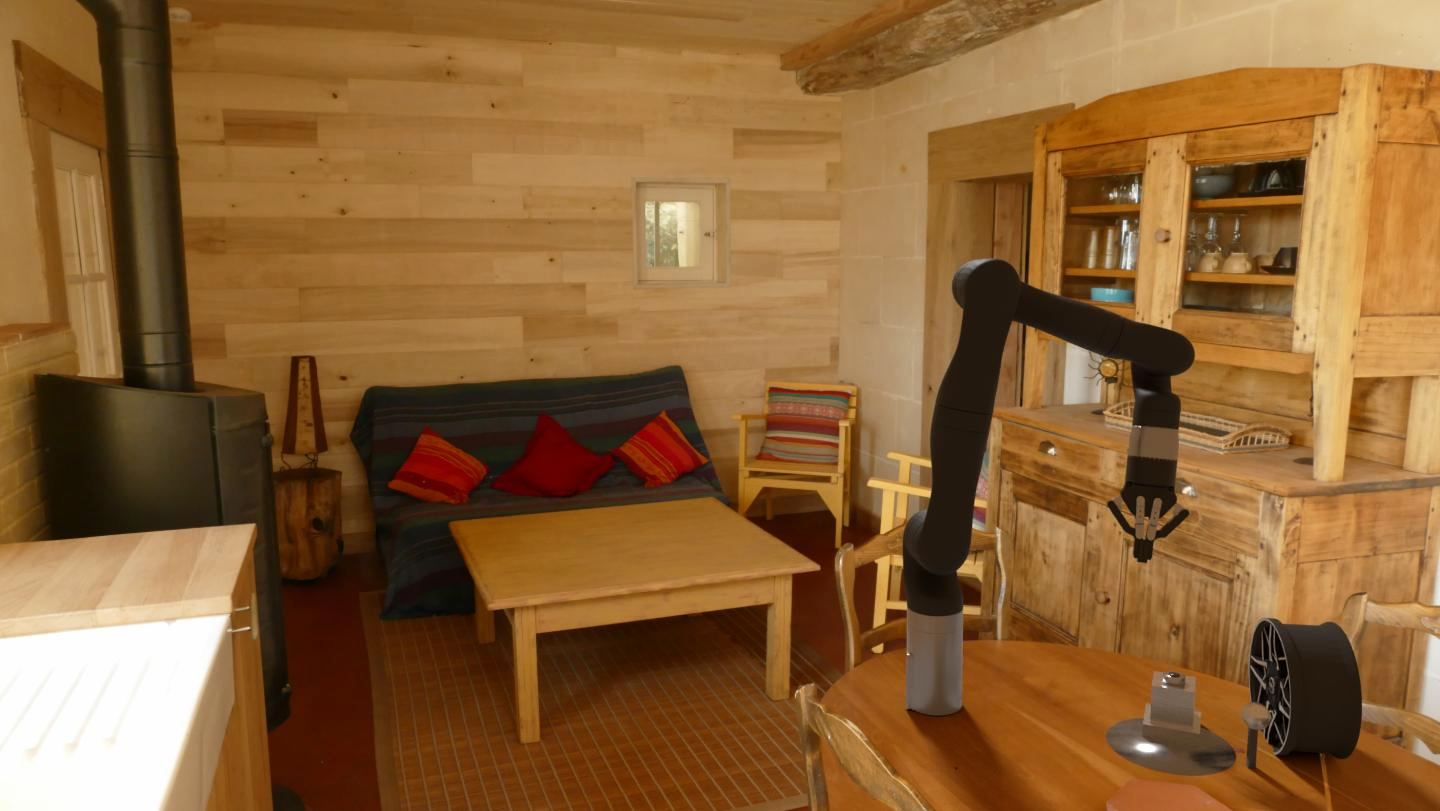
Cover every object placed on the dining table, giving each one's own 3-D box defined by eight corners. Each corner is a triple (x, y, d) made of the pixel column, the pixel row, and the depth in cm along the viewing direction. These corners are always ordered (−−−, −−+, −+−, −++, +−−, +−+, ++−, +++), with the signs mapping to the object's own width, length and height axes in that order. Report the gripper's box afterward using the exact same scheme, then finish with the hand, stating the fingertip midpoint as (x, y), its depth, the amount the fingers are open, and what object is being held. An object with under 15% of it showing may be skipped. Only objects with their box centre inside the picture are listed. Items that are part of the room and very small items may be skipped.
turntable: (1116, 772, 148) (1116, 769, 148) (1097, 716, 165) (1097, 713, 165) (1262, 784, 144) (1262, 780, 144) (1227, 725, 161) (1227, 722, 161)
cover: (1142, 736, 157) (1144, 679, 156) (1145, 714, 164) (1148, 660, 163) (1199, 746, 154) (1202, 688, 152) (1200, 723, 161) (1203, 668, 159)
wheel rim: (1245, 717, 165) (1252, 599, 162) (1307, 721, 163) (1315, 602, 160) (1286, 780, 146) (1294, 647, 143) (1357, 786, 144) (1367, 651, 141)
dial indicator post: (1240, 779, 146) (1244, 705, 145) (1234, 768, 149) (1238, 695, 148) (1267, 781, 146) (1272, 706, 144) (1260, 770, 149) (1265, 697, 147)
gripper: (1110, 451, 164) (1099, 558, 163) (1200, 460, 159) (1189, 570, 159) (1107, 451, 171) (1097, 554, 170) (1193, 460, 167) (1183, 565, 166)
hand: (1141, 562), depth 165 cm, fingers closed
